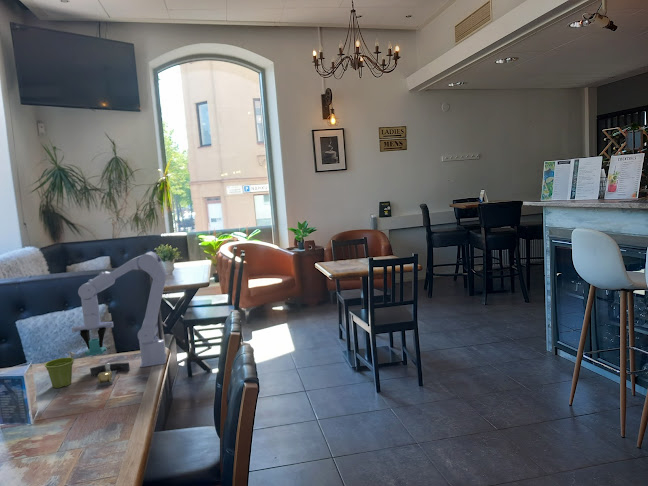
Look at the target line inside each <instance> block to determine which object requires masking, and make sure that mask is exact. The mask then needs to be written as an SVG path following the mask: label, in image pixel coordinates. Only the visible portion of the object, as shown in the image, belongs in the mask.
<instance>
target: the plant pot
mask: <svg viewBox="0 0 648 486" xmlns="http://www.w3.org/2000/svg"><path fill="white" fill-rule="evenodd" d="M73 364H74V357H73V358H69V357H68V356H67V357H59V358H56V359H52V360H50V361H47V362H45V364H44V367H45V368H46V370H47V372H48V376H49V379H50V383H51V386H52V388H54V389H60V388H62V387H68V386H69V385H71V384H72V380H73V379H72V375H73V374H72V373H73Z"/></svg>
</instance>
